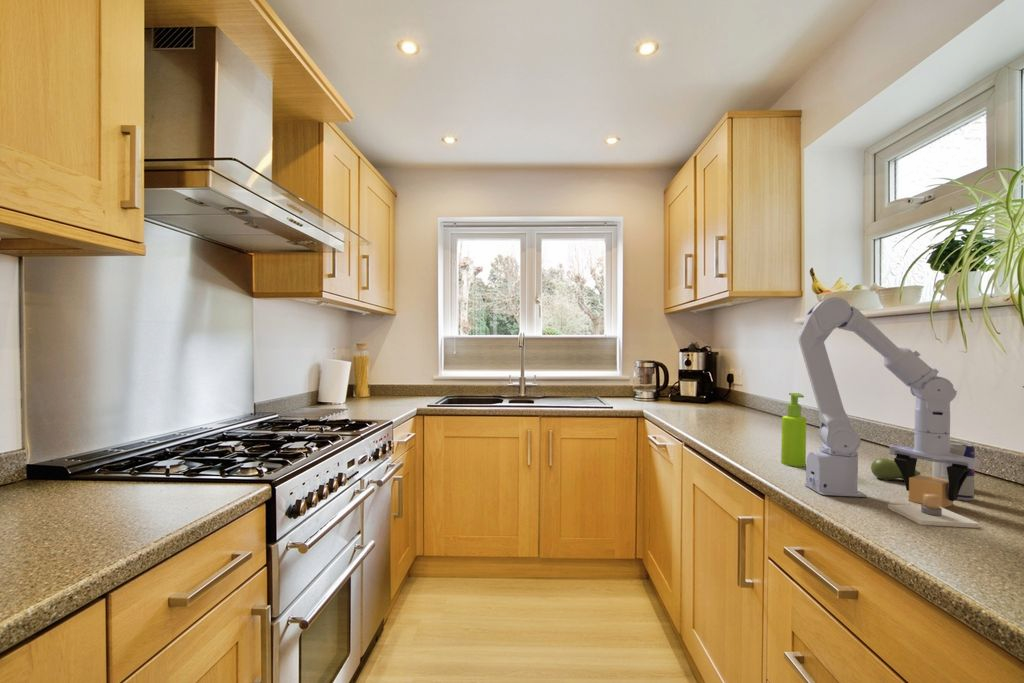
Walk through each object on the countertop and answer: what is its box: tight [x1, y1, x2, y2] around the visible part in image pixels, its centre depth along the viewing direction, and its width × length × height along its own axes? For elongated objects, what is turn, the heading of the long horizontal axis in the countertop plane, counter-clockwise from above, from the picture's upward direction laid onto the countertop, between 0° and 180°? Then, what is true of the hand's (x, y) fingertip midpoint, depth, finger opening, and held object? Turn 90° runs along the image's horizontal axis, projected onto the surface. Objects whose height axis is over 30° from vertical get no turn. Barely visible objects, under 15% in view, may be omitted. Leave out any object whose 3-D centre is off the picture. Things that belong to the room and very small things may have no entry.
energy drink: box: [941, 440, 976, 502], centre depth 106 cm, size 5×5×12 cm
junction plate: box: [887, 494, 980, 529], centre depth 93 cm, size 10×9×4 cm
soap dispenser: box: [780, 392, 807, 468], centre depth 134 cm, size 6×7×20 cm
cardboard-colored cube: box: [908, 474, 954, 509], centre depth 102 cm, size 6×6×5 cm
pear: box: [870, 457, 922, 481], centre depth 120 cm, size 6×5×10 cm
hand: (930, 495), depth 102 cm, fingers open, 7 cm apart
